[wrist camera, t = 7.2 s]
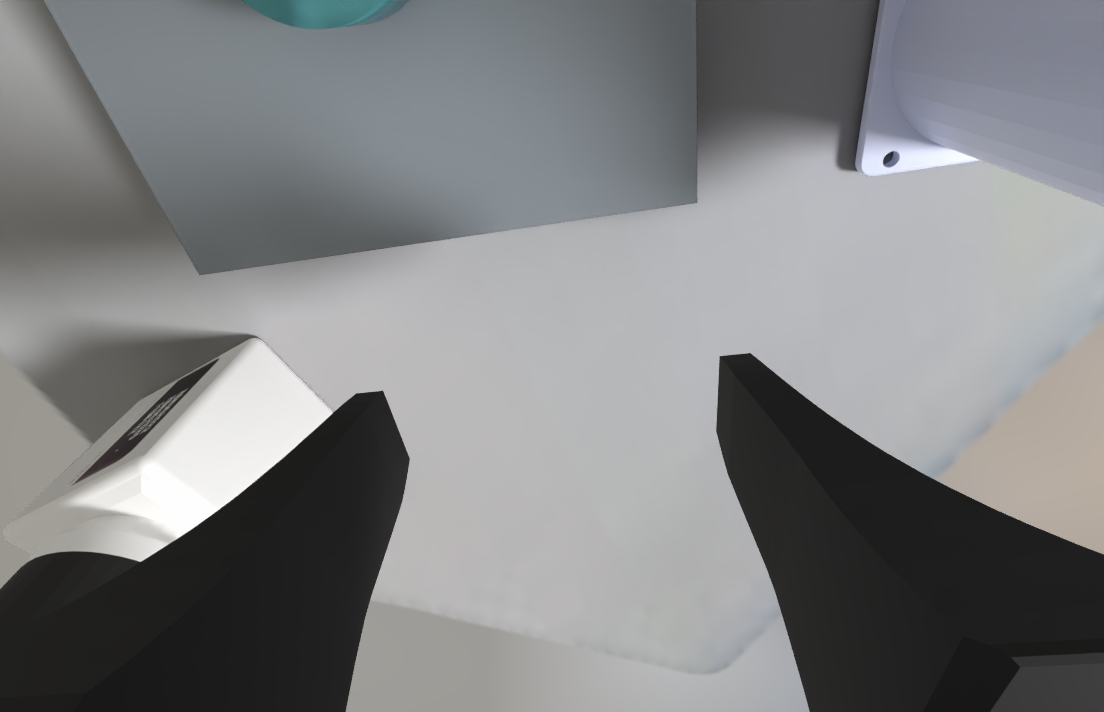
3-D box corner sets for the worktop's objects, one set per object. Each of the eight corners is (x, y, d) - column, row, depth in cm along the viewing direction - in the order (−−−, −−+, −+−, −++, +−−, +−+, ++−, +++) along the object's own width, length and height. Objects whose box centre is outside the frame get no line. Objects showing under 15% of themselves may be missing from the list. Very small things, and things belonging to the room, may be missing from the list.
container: (139, 398, 25) (-189, 705, 14) (258, 331, 23) (-19, 631, 12) (262, 498, 28) (79, 802, 18) (375, 448, 26) (245, 759, 16)
